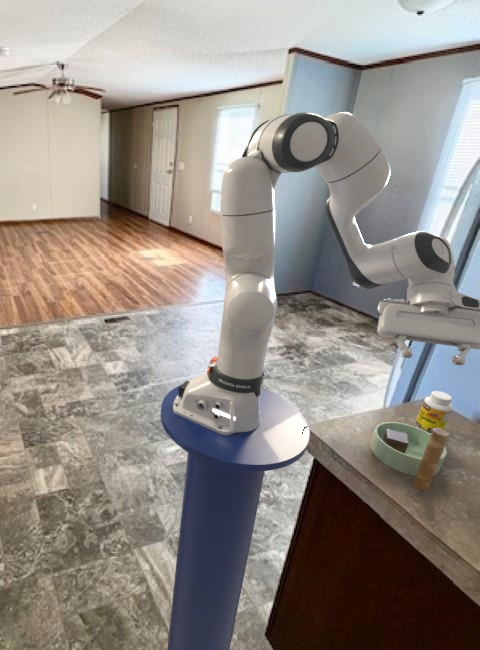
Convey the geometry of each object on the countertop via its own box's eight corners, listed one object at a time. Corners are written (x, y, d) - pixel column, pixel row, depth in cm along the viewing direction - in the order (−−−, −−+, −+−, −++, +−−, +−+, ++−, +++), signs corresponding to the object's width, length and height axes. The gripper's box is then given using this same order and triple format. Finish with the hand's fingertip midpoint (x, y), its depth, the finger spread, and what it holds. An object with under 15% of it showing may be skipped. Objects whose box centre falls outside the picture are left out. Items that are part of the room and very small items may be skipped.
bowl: (370, 463, 95) (376, 447, 93) (369, 430, 105) (374, 415, 104) (444, 485, 89) (451, 468, 87) (435, 448, 99) (441, 433, 98)
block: (382, 451, 97) (387, 437, 96) (382, 442, 101) (386, 428, 99) (403, 457, 95) (408, 443, 94) (402, 447, 99) (407, 433, 97)
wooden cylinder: (413, 488, 88) (434, 433, 82) (411, 480, 90) (431, 426, 85) (428, 493, 87) (450, 437, 81) (426, 484, 89) (448, 430, 83)
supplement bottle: (409, 424, 107) (422, 390, 103) (425, 421, 109) (438, 387, 105) (430, 438, 103) (445, 403, 99) (447, 434, 104) (462, 399, 100)
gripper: (383, 291, 96) (382, 348, 91) (493, 302, 90) (498, 364, 85) (373, 303, 102) (372, 357, 97) (477, 314, 95) (481, 373, 91)
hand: (432, 360), depth 91 cm, fingers open, 8 cm apart
